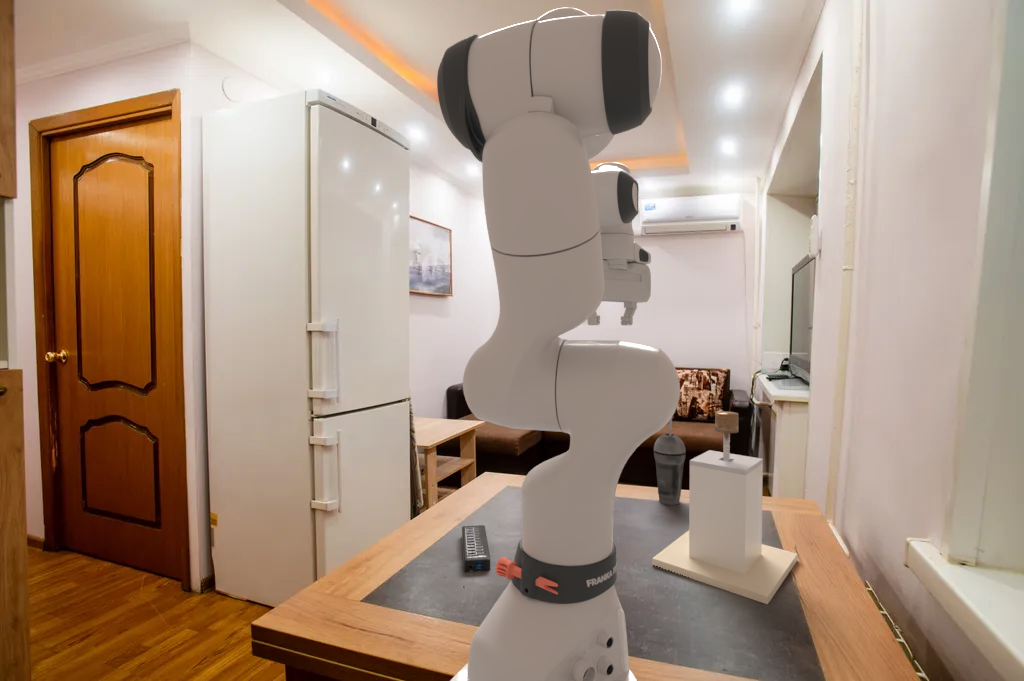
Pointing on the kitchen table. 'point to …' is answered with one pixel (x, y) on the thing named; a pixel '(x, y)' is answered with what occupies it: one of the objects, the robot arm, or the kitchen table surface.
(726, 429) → the plunger
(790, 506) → the kitchen table surface
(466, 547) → the multiport hub
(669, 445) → the beverage cup
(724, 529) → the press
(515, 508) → the kitchen table surface
